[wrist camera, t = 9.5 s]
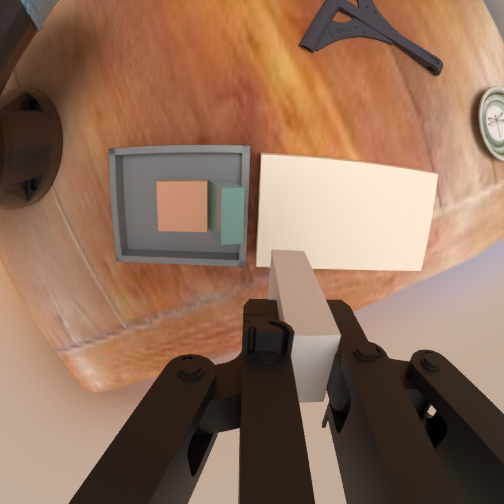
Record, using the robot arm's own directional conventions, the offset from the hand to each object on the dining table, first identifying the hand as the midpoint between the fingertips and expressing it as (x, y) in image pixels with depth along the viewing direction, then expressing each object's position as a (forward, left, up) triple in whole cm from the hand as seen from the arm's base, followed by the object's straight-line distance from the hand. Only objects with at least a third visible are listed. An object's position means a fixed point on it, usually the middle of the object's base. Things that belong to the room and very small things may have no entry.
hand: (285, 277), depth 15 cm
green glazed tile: (-3, -1, -16) cm, 16 cm away
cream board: (+8, 0, -19) cm, 20 cm away
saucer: (+29, +13, -19) cm, 37 cm away
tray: (-9, 0, -19) cm, 21 cm away
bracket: (+12, +20, -19) cm, 30 cm away
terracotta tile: (-8, 0, -16) cm, 18 cm away
